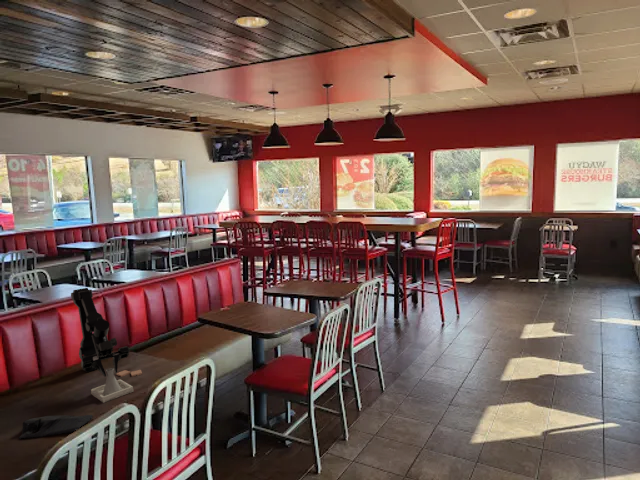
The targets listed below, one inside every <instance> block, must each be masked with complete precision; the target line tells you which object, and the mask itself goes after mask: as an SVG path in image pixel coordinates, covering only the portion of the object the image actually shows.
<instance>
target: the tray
mask: <svg viewBox="0 0 640 480" xmlns="http://www.w3.org/2000/svg"><path fill="white" fill-rule="evenodd" d="M116 380H117V379H116ZM117 382H118V384H119V386H120V387H121V389H122V390H120V391H118V392H115V393H112V394H109V395H104V394H103V392H104V388H105V384H102V385H99V386H97V387H93V388H92V389H91V388H90V391H91V392H90V393H91V394H90V395H92V396H93V397H95V398H96V399H98V400H99V401H100V402H101V403H103V404H104V403H106V402H109V401H112V400H115V399H116V398H117V399H118V398H119V397H123V396H125V395H128V394H130V393H134V386H133V385H131V384H129V383H127V382H126V381H124V380H122V379H121V378H120V379H118V380H117Z"/></svg>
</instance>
